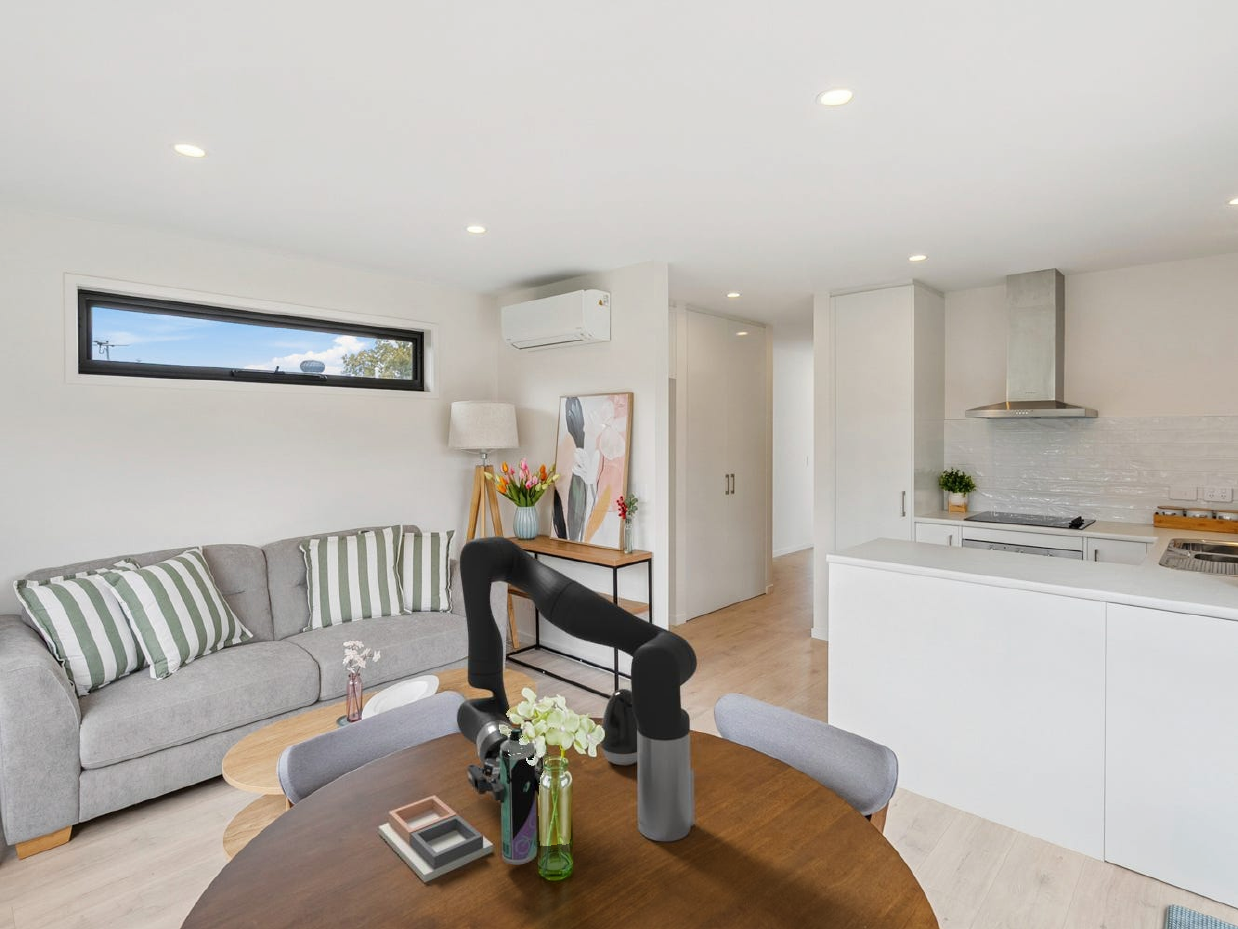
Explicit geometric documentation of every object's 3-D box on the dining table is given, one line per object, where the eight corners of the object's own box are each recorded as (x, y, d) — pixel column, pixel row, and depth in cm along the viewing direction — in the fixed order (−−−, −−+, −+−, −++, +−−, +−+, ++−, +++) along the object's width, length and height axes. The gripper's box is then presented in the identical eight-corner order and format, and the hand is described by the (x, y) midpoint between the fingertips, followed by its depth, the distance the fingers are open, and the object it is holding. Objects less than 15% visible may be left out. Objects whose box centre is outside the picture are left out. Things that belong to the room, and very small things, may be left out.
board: (442, 808, 124) (442, 791, 124) (493, 851, 110) (492, 832, 110) (378, 833, 116) (378, 815, 116) (424, 882, 102) (424, 862, 102)
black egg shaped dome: (614, 776, 136) (613, 701, 136) (591, 756, 145) (591, 686, 145) (657, 764, 141) (656, 692, 141) (632, 745, 150) (631, 678, 150)
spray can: (530, 866, 103) (527, 738, 103) (496, 862, 104) (494, 735, 104) (541, 845, 109) (538, 723, 108) (509, 842, 110) (506, 721, 109)
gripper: (459, 735, 117) (474, 778, 101) (539, 721, 122) (565, 760, 106) (460, 777, 117) (475, 827, 101) (539, 762, 122) (566, 807, 106)
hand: (521, 793), depth 104 cm, fingers closed on spray can, 5 cm apart
